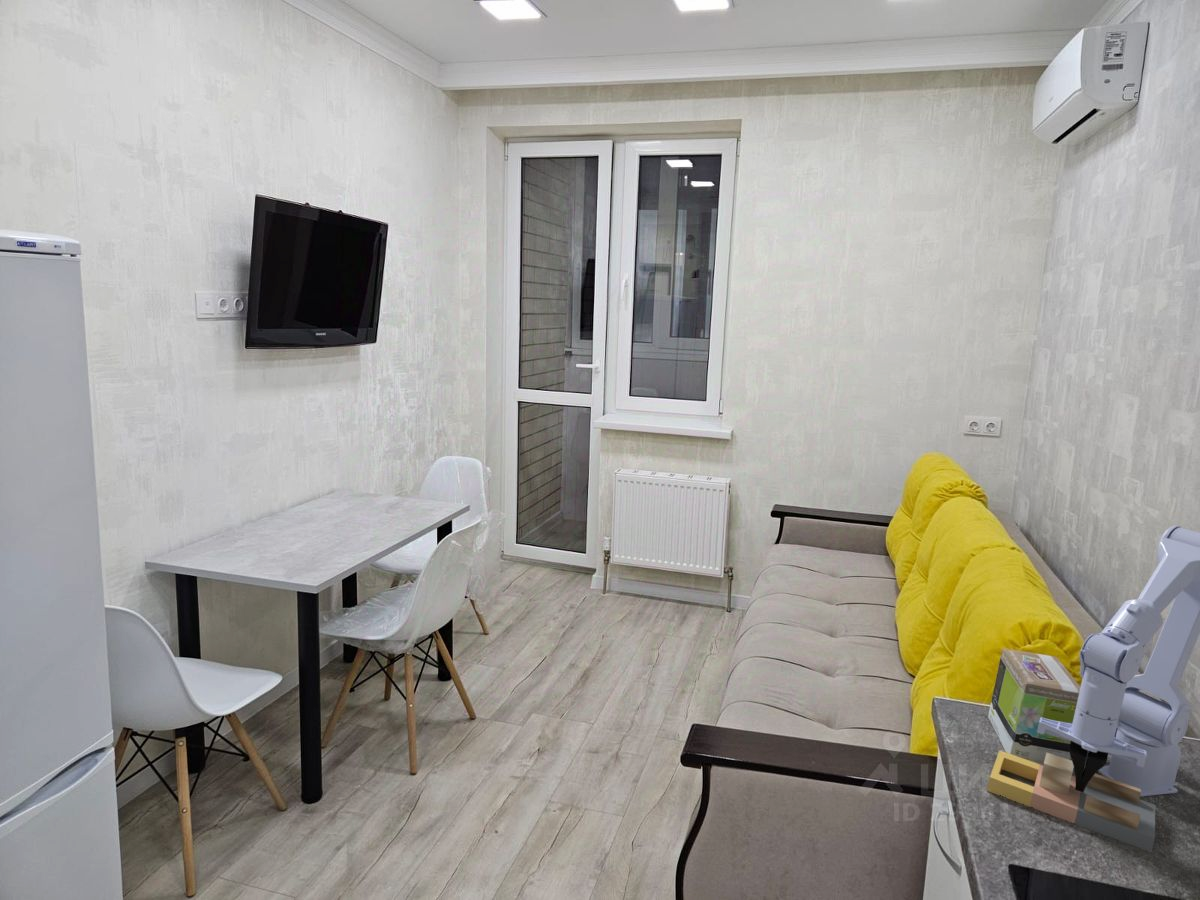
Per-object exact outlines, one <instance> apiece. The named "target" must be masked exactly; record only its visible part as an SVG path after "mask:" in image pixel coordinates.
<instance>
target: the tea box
mask: <svg viewBox="0 0 1200 900" xmlns="http://www.w3.org/2000/svg"><path fill="white" fill-rule="evenodd" d="M1064 665H1065V664H1063V662H1061V661H1060V659H1059V658H1058V657H1057V656H1052V655H1048V654H1040V653H1035V652H1028V651H1022V650H1015V649H1009V648H1002V650H1001V654H1000V658H999V662H998V667H997V668H998V669H997V673H996V677H995V683H994V688H993V691H992V697H991V702H990V704H989V705H990V706H989V711H988V716H987V717H988V719H989V721H990V723H991V726H992V727H993V729H994V732H995V733H996V735H997V737H998V739H999V741H1000V743H1001V745H1002V747H1003V748H1004V752H1006V753H1009V754H1012V755H1015V756H1018V757H1020V758H1023V759H1026V760H1029V761H1032V762H1035V763H1038V764H1040V765H1044V761H1045V757H1046V753H1050V754H1053V755H1056V756H1059V757H1062V758H1065V759H1068V760H1072V759H1071V756H1070V752H1069V747H1070V741H1067V740H1064V739H1061V738H1058V737H1055V736H1052V735H1049V734H1046V733H1045V734H1040V733H1037V730H1038V726H1039V721H1040V718H1041V717H1042V718H1046V719H1050V720H1054V721H1060V722H1065V723H1071V724H1072V723H1073V719H1074V714H1075V710H1076V705H1077V701H1078V696H1079V692H1080V687H1081V684H1079V683H1078V682H1077V680H1076V679H1075V678H1074V677H1073V676H1072V674H1071V673H1070V671H1068V669H1067V668H1066V666H1064Z"/></svg>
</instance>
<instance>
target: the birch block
mask: <svg viewBox="0 0 1200 900" xmlns="http://www.w3.org/2000/svg"><path fill="white" fill-rule="evenodd" d="M1073 772H1074V766H1073V762H1072V759H1070V760H1068V759H1065V758H1062V757H1059V756H1056V755H1053V754H1050V753H1046V757H1045V761H1044V765H1043V770H1042V775H1041V779H1040V784H1039V786H1042V787H1044V788H1047V789H1050V790H1053V791H1056V792H1058V793H1061V794H1064V795H1067V796H1068V791H1069V786H1070V782H1071V777H1072V776H1073Z"/></svg>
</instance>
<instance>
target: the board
mask: <svg viewBox="0 0 1200 900" xmlns="http://www.w3.org/2000/svg"><path fill="white" fill-rule="evenodd" d="M1042 770H1043V765H1040V764H1038V763H1035V762H1032V761H1029V760H1026V759H1023V758H1020V757H1018V756H1015V755H1012V754H1009V753H1006V751H1003V750H999V751H998V753H997V755H996V759H995V762H994V764H993V767H992V769H991V772H990V776H989V778H988V785H987V790H986V791H987V792H989V793H992V794H995V795H996V796H1000V795H1001V796H1000V797H1002V796H1004V797H1003V798H1005V797H1006V798H1005V799H1008V800H1011V801H1014V802H1015V801H1016V803H1018V804H1021V805H1023V804H1024V806H1026V807H1029V808H1031V807H1033V808H1032V809H1035V810H1036V811H1040V812H1043V813H1045V814H1047V815H1050V816H1053V817H1055V818H1058V817H1059V818H1058V819H1061V818H1062V819H1061V820H1063V819H1064V821H1066V820H1067V822H1069V821H1070V822H1069V823H1071V822H1072V823H1071V824H1074V823H1075V824H1074V825H1076V824H1077V825H1076V826H1079V825H1080V826H1079V827H1082V826H1083V827H1082V828H1084V827H1085V828H1084V829H1088V830H1091V831H1092V830H1093V831H1092V832H1094V833H1095V832H1096V833H1098V834H1100V835H1103V836H1106V837H1109V838H1111V839H1114V840H1116V841H1119V842H1122V843H1125V844H1127V845H1131V846H1133V847H1136V848H1137V849H1141V850H1143V851H1145V852H1148V853H1152V851H1153V847H1154V842H1155V839H1156V804H1154V803H1151V802H1148V801H1147V800H1146V801H1145V800H1143V799H1140V798H1139V802H1138V803H1136V802H1133V801H1130V800H1127V799H1124V798H1121V797H1119V796H1116V795H1113V794H1110V793H1107V792H1104V791H1102V790H1099V789H1096V788H1093V787H1090V786H1086V788H1085V790H1084V792H1080V791H1078V790H1075V786H1076V779H1075V775H1072V777H1071V782H1070V786H1069V791H1068V796H1067V795H1064V794H1061V793H1058V792H1056V791H1053V790H1050V789H1047V788H1044V787H1042V786H1039V784H1040V779H1041V775H1042ZM1086 796H1090V797H1093V798H1096V799H1098V800H1101V801H1104V802H1107V803H1110V804H1112V805H1115V806H1118V807H1121V808H1124V809H1126V810H1129V811H1132V812H1135V813H1138V814H1140V820H1139V824H1138V828H1137V829H1134V828H1131V827H1129V826H1126V825H1123V824H1121V823H1118V822H1115V821H1112V820H1110V819H1107V818H1104V817H1101V816H1099V815H1096V814H1093V813H1091V812H1088V811H1085V810H1084V805H1085V800H1086Z"/></svg>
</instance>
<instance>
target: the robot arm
mask: <svg viewBox="0 0 1200 900" xmlns="http://www.w3.org/2000/svg"><path fill="white" fill-rule="evenodd" d="M1157 548H1158V550H1157V562H1158V565H1157V566H1156V568H1155V570H1154V571H1153V573H1152V575H1151V576H1150V578H1149V580H1148V581H1147V583H1146V584H1145V586H1144V587H1143V589H1142V591H1141V592H1140V595H1139V596H1138V598H1136V599H1129V600H1128V599H1127V600H1125V601H1124V602H1123V603H1122V605H1121V606H1120V608H1119V609H1118V611H1116V613H1115V614H1114V615H1113V617H1111V619H1110V620H1109V622H1108V623H1107V624H1106V626H1105V627H1104V628H1103V629H1102V631H1101V632H1098V633H1092V634H1090V635H1089V636H1087V638H1086V639H1085V640H1084V642H1083V644H1082V646H1081V649H1080V651H1079V655H1078V659H1079V662H1080V669H1079V676H1080V677H1081V678H1082V679H1081V683H1080V692H1079V696H1078V701H1077V705H1076V710H1075V714H1074V719H1073V723H1072V724H1071V723H1065V722H1060V721H1054V720H1050V719H1046V718H1042V717H1041V718H1040V721H1039V726H1038V730H1037V733H1040V734H1045V733H1046V734H1049V735H1052V736H1055V737H1058V738H1061V739H1064V740H1067V741H1070V747H1069V752H1070V756H1071V759H1070V760H1071V761H1072V762H1073V766H1074V767H1073V772H1074V776H1075V779H1076V786H1075V790H1078V791H1080V792H1084V790H1085V788H1086V786H1087V784H1088V782H1089V781H1090V779H1091V778H1092V777H1093V776H1094V774H1095V773H1096V774H1097V772H1098V773H1099V774H1100V775H1102V776H1104V777H1107V778H1110V779H1113V780H1116V781H1119V782H1122V783H1125V784H1128V785H1131V786H1133V787H1136V788H1139V789H1141V794H1140V797H1146V796H1147V797H1149V796H1151V797H1152V796H1157V795H1167V794H1169V795H1170V794H1177V793H1178V788H1176V787H1174V786H1175V782H1176V777H1177V773H1178V770H1179V766H1180V762H1181V758H1182V752H1181V747H1180V745H1179V744H1180V742H1181V741H1182V740H1183V738H1184V736H1185V735H1186V734H1187V730H1188V727H1189V718H1190V715H1191V712H1192V708H1193V707H1192V704H1191V702H1190V701H1189V699H1188V698H1187V697H1186V695H1185V694H1184V692H1183V691H1182V690H1181V688H1180V686H1179V685H1180V682H1181V680H1182V678H1183V675H1184V672H1185V669H1186V668H1187V666H1188V663H1189V660H1190V658H1191V656H1192V654H1193V651H1194V648H1195V646H1196V644H1197V641H1198V638H1199V637H1200V532H1198V531H1195V530H1190V529H1188V528H1184V527H1182V526H1180V525H1177V524H1176V525H1175V524H1174V525H1172V526H1170V527H1169V528H1167V529H1166V530H1165V531H1164V532H1163V534H1162V535H1161V537H1160V539H1159V542H1158V547H1157ZM1170 604H1171V607H1170V608H1169V612H1168V613H1167V616H1166V619H1165V621H1164V620H1163V619H1164V618H1163V617H1162V612H1164V610H1165V609H1166V608H1167V607H1168V606H1169V605H1170ZM1162 626H1163V627H1162ZM1161 627H1162V628H1161ZM1160 629H1161V630H1160ZM1159 630H1160V634H1159V635H1158V638H1157V641H1156V643H1155V645H1154V648H1153V650H1152V653H1151V654H1150V658H1149V660H1148V663H1147V665H1146V667H1145V670H1144V672H1143V673H1141V674H1137V673H1138V671H1139V669H1140V666H1141V663H1142V660H1143V659H1144V657H1145V655H1146V653H1145V649H1146V647H1147V646H1148V645H1149V643H1150V642H1151V640H1153V638H1154V637H1155V636H1156V634H1157V633H1158V632H1159ZM1142 691H1143V692H1145V693H1143V692H1142ZM1147 694H1149V695H1147ZM1150 695H1151V696H1150ZM1153 696H1154V697H1156V698H1154V697H1153ZM1157 698H1158V699H1157ZM1159 699H1160V700H1159ZM1162 700H1163V701H1162ZM1116 728H1118V730H1117V734H1116V738H1115V737H1114V736H1115V732H1116ZM1108 756H1110V760H1109V763H1108V765H1106V764H1107V761H1108Z"/></svg>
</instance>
